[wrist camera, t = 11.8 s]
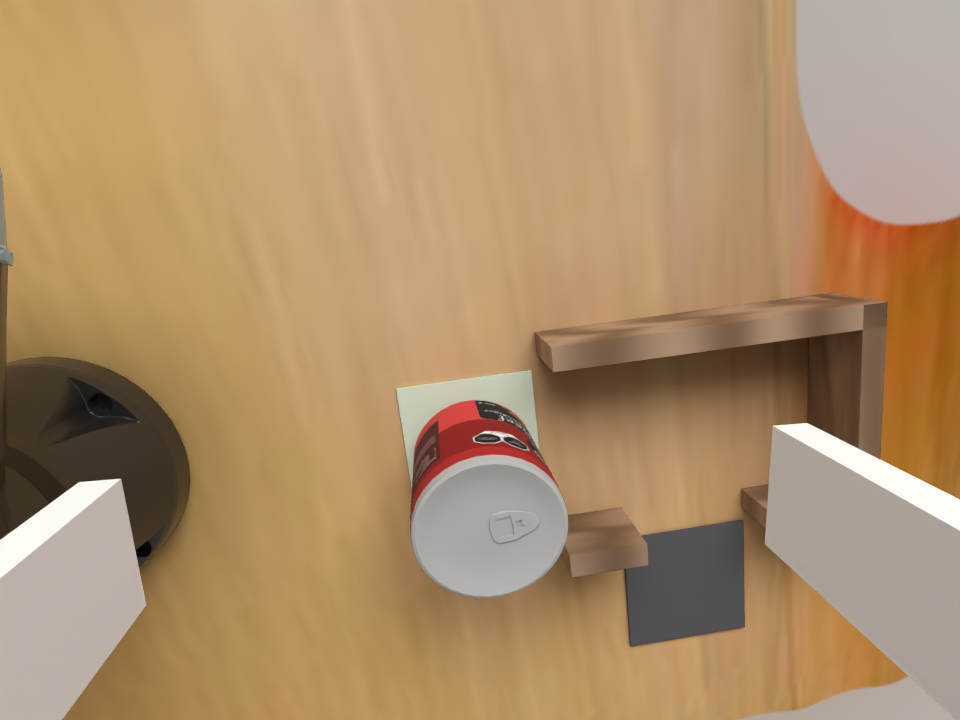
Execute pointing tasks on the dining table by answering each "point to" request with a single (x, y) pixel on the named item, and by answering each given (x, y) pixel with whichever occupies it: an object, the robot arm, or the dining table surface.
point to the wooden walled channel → (823, 318)
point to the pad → (433, 398)
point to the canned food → (483, 502)
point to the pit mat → (688, 584)
